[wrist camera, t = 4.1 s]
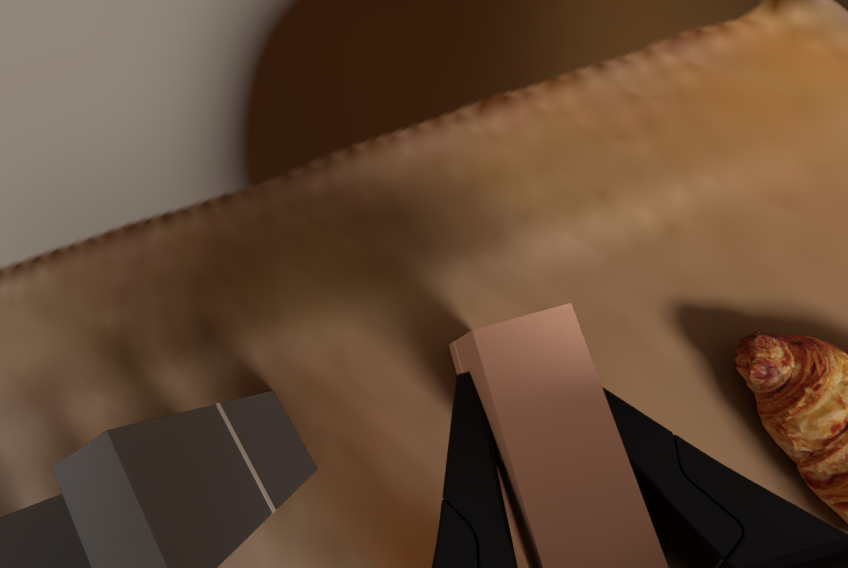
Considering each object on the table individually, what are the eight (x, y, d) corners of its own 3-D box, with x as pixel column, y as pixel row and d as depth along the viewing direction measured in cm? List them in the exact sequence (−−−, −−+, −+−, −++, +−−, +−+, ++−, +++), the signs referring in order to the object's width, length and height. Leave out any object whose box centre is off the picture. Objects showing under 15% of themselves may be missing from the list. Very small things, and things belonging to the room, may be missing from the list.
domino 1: (242, 524, 18) (11, 728, 8) (213, 545, 18) (-56, 777, 8) (200, 440, 19) (-50, 535, 9) (172, 460, 19) (-111, 577, 9)
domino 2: (317, 469, 19) (183, 601, 9) (290, 489, 18) (122, 646, 9) (273, 389, 20) (107, 429, 10) (246, 408, 19) (50, 467, 10)
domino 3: (505, 427, 18) (701, 653, 5) (473, 436, 18) (576, 687, 5) (478, 336, 19) (571, 301, 6) (448, 344, 19) (470, 329, 6)
